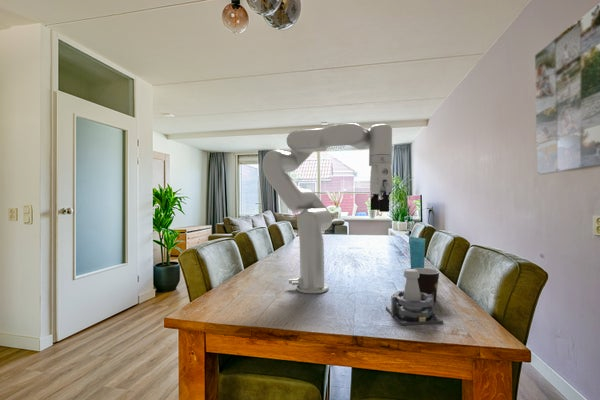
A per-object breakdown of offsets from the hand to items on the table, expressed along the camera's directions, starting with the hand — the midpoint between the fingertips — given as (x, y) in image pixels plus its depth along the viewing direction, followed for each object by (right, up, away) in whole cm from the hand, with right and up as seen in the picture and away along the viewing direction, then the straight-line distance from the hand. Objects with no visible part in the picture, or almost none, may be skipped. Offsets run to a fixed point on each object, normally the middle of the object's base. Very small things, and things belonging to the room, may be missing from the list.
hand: (379, 210), depth 99 cm
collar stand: (+6, -31, -13) cm, 34 cm away
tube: (+20, -31, +17) cm, 41 cm away
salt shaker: (+6, -31, -13) cm, 34 cm away
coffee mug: (+17, -31, +1) cm, 36 cm away
